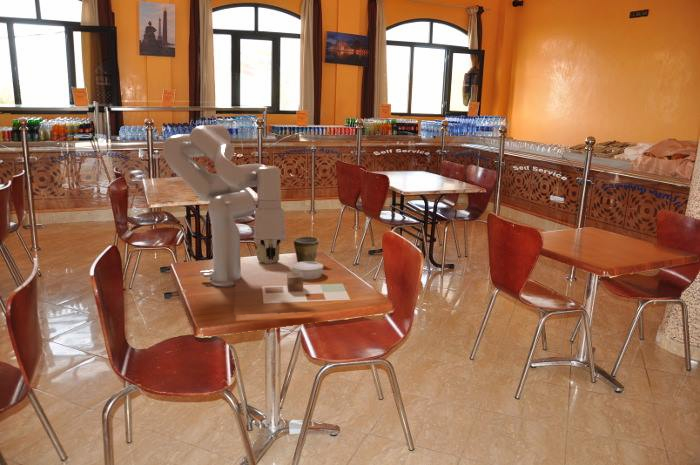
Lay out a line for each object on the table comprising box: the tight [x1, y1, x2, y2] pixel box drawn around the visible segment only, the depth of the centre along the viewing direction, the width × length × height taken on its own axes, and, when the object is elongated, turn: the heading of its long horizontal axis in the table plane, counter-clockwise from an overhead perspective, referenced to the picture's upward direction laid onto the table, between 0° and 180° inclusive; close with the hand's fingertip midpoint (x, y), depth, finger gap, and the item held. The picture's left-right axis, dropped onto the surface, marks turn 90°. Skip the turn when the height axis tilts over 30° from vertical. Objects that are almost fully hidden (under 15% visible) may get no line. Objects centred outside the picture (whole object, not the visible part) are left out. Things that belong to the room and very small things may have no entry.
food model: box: [254, 240, 281, 265], centre depth 224 cm, size 10×7×20 cm
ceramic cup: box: [293, 236, 320, 263], centre depth 226 cm, size 13×10×10 cm
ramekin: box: [292, 261, 324, 280], centre depth 208 cm, size 11×11×5 cm
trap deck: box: [261, 283, 351, 304], centre depth 189 cm, size 28×16×2 cm, turn 100°
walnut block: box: [286, 272, 304, 292], centre depth 192 cm, size 5×5×5 cm
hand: (270, 258), depth 188 cm, fingers closed
